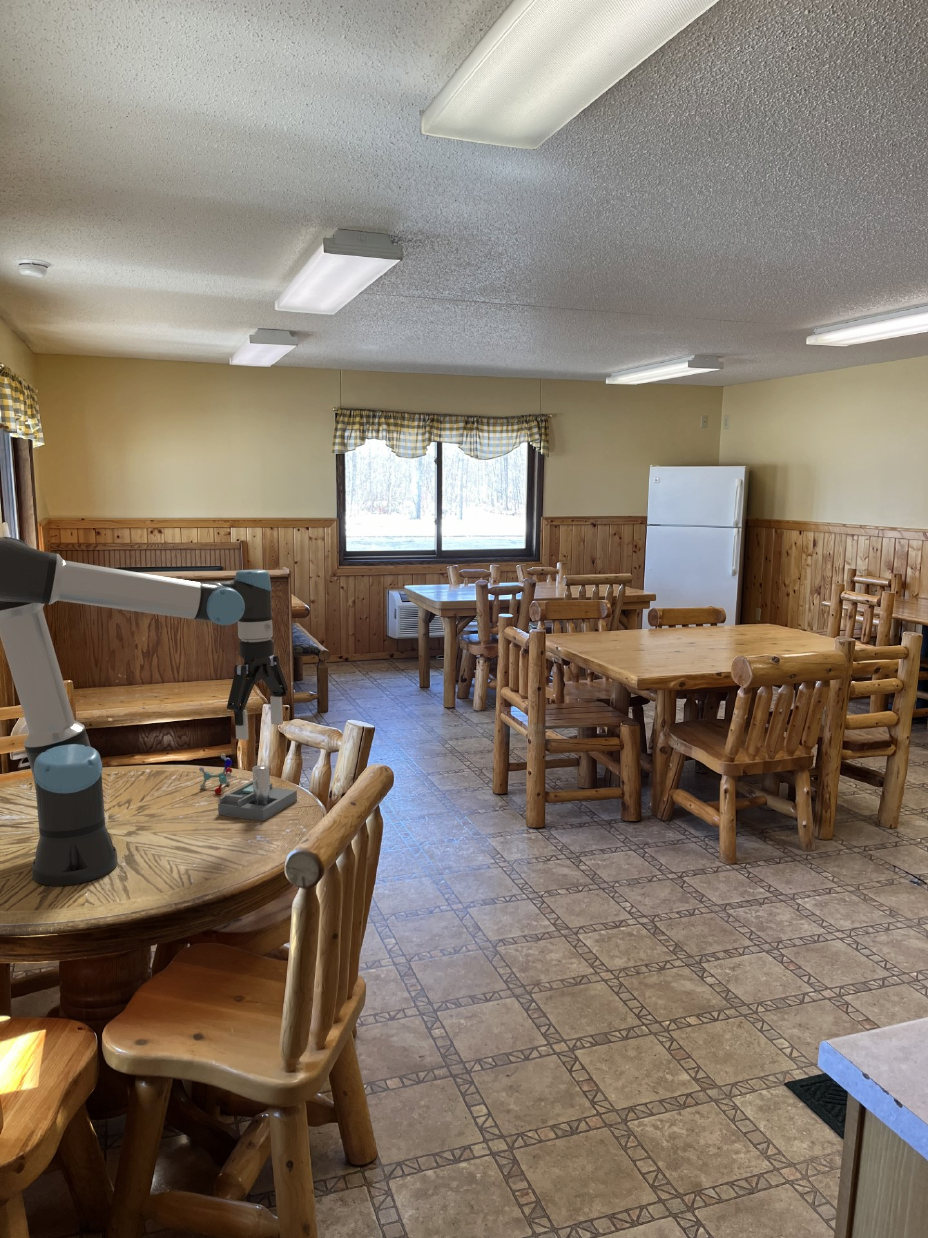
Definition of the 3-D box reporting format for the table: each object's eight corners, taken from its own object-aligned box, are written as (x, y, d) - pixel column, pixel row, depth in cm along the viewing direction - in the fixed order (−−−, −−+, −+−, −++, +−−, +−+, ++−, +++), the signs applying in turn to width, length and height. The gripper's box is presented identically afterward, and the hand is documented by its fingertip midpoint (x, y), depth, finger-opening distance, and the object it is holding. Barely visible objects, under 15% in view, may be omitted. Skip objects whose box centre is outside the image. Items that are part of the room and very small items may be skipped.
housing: (263, 821, 192) (262, 803, 191) (218, 814, 196) (217, 797, 196) (297, 800, 205) (296, 784, 204) (254, 795, 209) (253, 778, 209)
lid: (255, 794, 202) (254, 779, 201) (242, 792, 203) (241, 777, 202) (270, 786, 207) (269, 771, 207) (257, 784, 208) (256, 770, 208)
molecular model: (180, 779, 210) (201, 742, 213) (201, 787, 219) (221, 751, 221) (216, 799, 206) (237, 761, 208) (235, 806, 214) (255, 769, 217)
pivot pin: (264, 813, 195) (262, 770, 194) (251, 811, 197) (249, 769, 195) (273, 807, 199) (271, 765, 197) (260, 806, 200) (258, 764, 199)
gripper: (236, 649, 180) (241, 747, 183) (300, 631, 203) (304, 719, 206) (206, 647, 183) (211, 744, 186) (273, 630, 206) (277, 717, 209)
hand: (260, 731), depth 196 cm, fingers open, 13 cm apart
